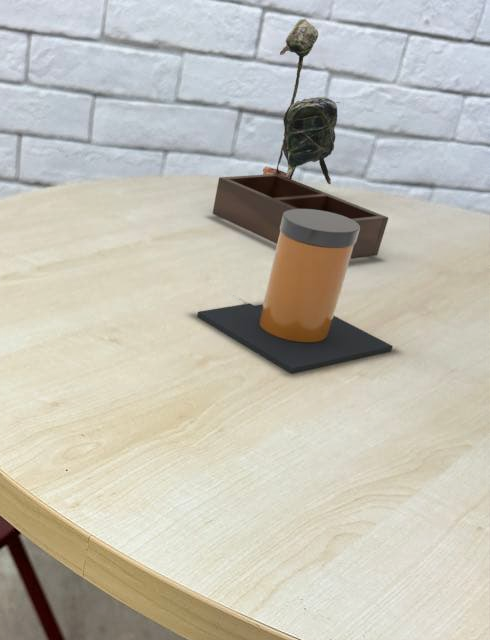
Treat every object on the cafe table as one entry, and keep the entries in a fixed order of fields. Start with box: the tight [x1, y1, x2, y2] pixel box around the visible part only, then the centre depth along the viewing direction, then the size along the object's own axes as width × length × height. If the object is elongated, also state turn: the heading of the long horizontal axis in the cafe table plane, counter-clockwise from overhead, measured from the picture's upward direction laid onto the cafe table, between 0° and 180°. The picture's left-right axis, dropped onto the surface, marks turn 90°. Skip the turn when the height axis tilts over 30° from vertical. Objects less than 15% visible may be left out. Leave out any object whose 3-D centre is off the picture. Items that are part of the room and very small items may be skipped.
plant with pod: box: [262, 18, 340, 185], centre depth 107 cm, size 8×11×20 cm
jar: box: [259, 209, 360, 343], centre depth 71 cm, size 6×6×9 cm
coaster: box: [196, 302, 393, 374], centre depth 74 cm, size 12×12×1 cm
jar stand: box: [212, 174, 389, 260], centre depth 96 cm, size 9×18×5 cm, turn 33°
